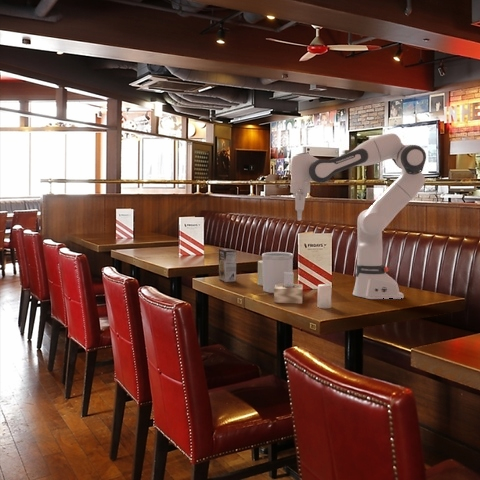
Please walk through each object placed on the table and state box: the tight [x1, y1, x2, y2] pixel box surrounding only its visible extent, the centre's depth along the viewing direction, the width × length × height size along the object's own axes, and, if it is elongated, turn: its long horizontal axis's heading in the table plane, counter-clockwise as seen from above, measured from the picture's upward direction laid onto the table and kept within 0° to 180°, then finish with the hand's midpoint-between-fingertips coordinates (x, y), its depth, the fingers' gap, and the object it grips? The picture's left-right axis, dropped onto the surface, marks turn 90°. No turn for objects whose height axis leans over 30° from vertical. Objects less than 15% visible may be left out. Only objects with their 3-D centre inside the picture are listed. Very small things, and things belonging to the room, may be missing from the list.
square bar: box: [284, 272, 295, 288], centre depth 239 cm, size 4×4×12 cm
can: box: [256, 259, 263, 287], centre depth 275 cm, size 9×9×12 cm
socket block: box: [273, 283, 304, 304], centre depth 239 cm, size 12×12×6 cm
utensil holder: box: [261, 251, 294, 294], centre depth 259 cm, size 15×15×18 cm
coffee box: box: [218, 248, 237, 283], centre depth 285 cm, size 9×6×16 cm
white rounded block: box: [316, 283, 332, 309], centre depth 226 cm, size 6×6×9 cm
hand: (299, 219), depth 249 cm, fingers open, 8 cm apart
